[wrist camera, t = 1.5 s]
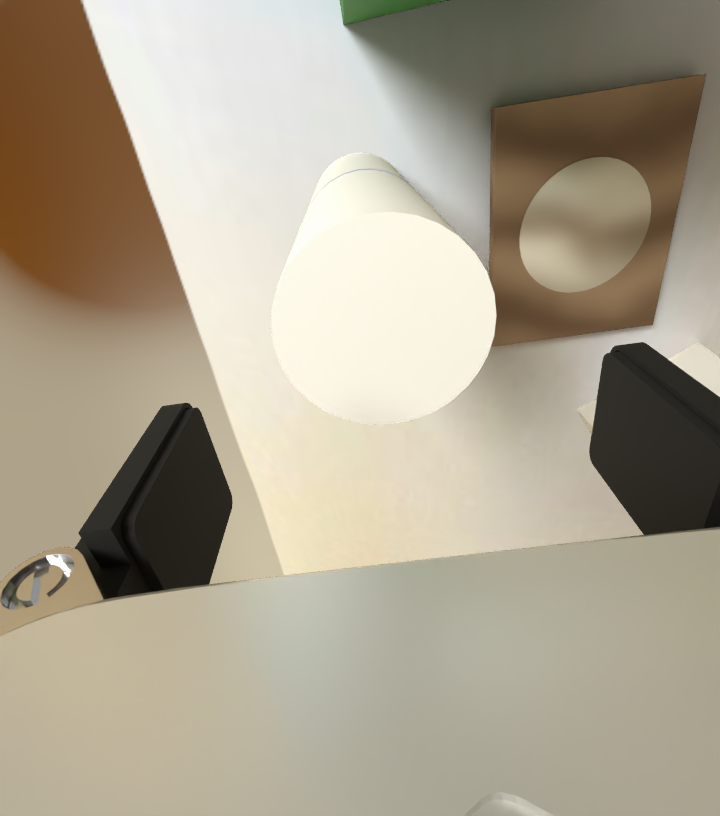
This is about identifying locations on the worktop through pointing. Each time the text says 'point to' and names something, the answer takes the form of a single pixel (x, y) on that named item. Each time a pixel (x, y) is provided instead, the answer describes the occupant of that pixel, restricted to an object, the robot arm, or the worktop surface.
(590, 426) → the milk
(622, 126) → the walnut board
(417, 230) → the cylindrical container
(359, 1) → the hardback book
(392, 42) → the worktop surface
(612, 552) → the robot arm
